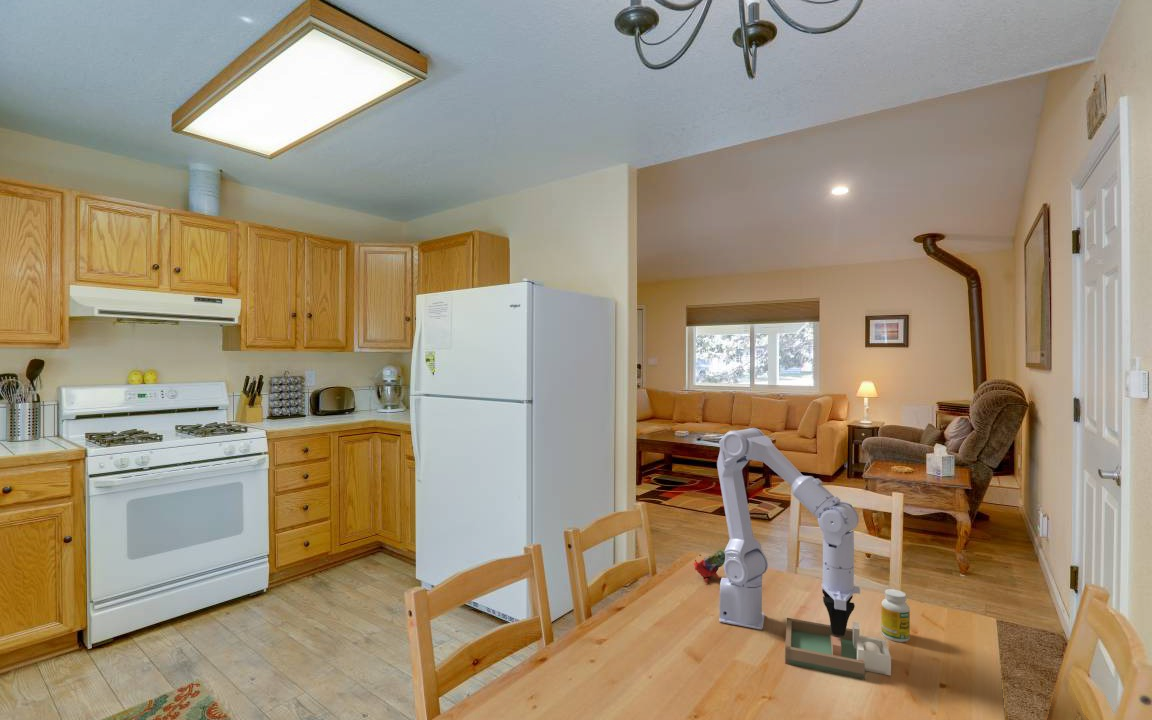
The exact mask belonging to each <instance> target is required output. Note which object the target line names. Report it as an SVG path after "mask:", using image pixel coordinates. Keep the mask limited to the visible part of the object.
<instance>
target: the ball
mask: <svg viewBox="0 0 1152 720" xmlns="http://www.w3.org/2000/svg"><path fill="white" fill-rule="evenodd" d="M863 648H864V650H865V651H870V652H875V653H881V651H880V649H879V647H878V646H877V645H876V644H875V643H873V642H865V643H863Z"/></svg>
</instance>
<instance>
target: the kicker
mask: <svg viewBox="0 0 1152 720" xmlns="http://www.w3.org/2000/svg"><path fill="white" fill-rule="evenodd" d="M829 625H830V640H831V649H832V655H836V656H841V641H840V637H841V636H840V635H834V634H833V633H832V629H831V624H829Z"/></svg>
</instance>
